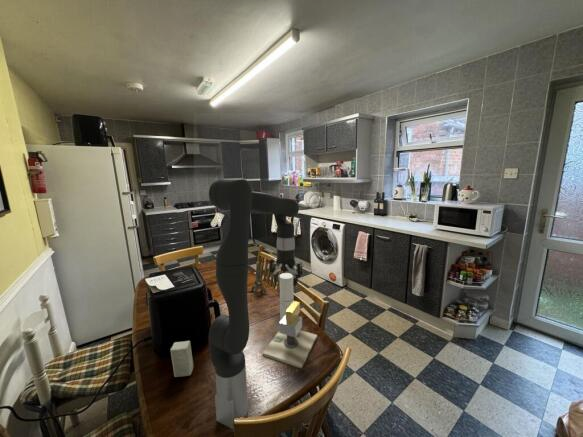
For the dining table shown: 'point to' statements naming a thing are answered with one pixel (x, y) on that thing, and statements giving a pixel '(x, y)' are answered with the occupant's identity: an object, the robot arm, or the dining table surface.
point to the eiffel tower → (256, 284)
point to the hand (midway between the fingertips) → (285, 284)
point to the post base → (291, 348)
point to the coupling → (291, 320)
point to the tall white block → (285, 293)
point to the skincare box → (182, 358)
